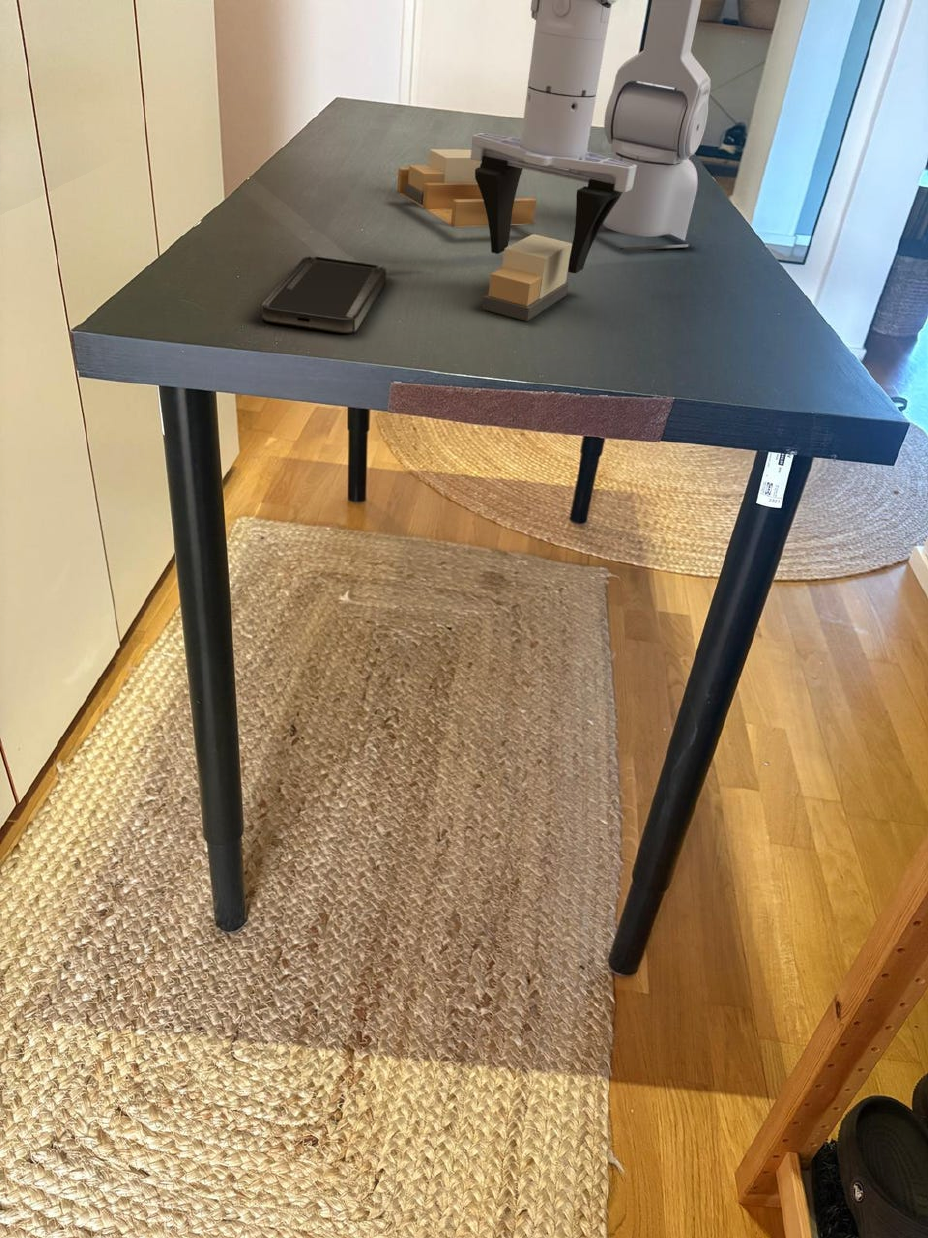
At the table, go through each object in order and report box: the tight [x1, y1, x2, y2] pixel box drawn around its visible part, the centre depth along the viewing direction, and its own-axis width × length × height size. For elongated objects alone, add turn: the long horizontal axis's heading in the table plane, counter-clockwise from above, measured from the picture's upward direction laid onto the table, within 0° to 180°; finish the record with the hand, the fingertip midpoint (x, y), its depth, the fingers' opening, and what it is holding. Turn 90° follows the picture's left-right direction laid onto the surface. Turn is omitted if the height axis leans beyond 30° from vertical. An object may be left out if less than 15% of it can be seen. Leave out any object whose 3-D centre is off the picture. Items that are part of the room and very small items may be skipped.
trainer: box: [482, 233, 573, 322], centre depth 83 cm, size 10×4×5 cm, turn 153°
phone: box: [261, 256, 387, 334], centre depth 79 cm, size 8×1×15 cm
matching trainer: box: [405, 148, 482, 205], centre depth 105 cm, size 10×4×5 cm, turn 118°
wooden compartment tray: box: [396, 167, 537, 228], centre depth 104 cm, size 10×14×4 cm
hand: (536, 260), depth 83 cm, fingers open, 7 cm apart
